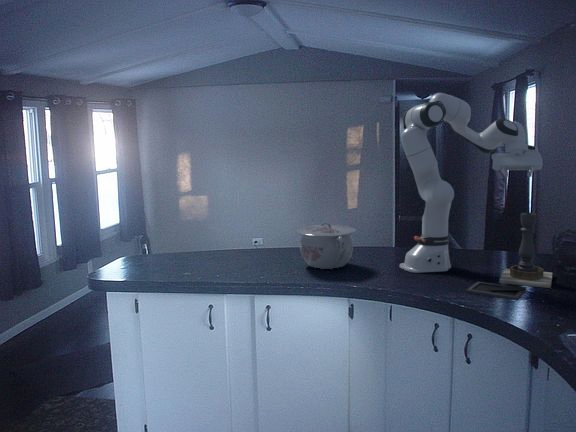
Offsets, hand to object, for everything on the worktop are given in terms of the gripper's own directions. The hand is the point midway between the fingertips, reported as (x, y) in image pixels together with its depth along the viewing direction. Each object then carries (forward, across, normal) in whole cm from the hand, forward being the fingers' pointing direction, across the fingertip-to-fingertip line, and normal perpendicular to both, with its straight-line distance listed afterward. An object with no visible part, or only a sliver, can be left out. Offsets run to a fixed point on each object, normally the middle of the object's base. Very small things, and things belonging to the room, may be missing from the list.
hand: (517, 176), depth 230 cm
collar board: (+45, +2, +11) cm, 46 cm away
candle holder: (+44, +2, +10) cm, 45 cm away
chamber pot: (+40, -81, +16) cm, 92 cm away
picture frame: (+59, -11, -2) cm, 60 cm away
